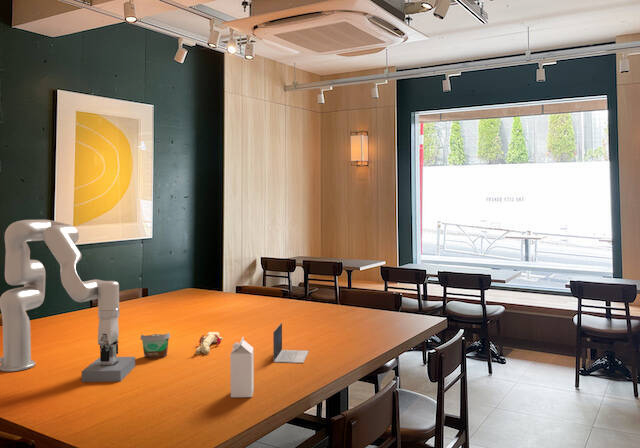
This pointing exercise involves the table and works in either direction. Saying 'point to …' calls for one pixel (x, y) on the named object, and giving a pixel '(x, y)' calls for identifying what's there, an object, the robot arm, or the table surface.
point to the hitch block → (108, 370)
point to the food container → (155, 345)
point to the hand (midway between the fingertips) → (109, 357)
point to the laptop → (285, 355)
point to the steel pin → (111, 356)
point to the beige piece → (208, 342)
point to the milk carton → (242, 370)
